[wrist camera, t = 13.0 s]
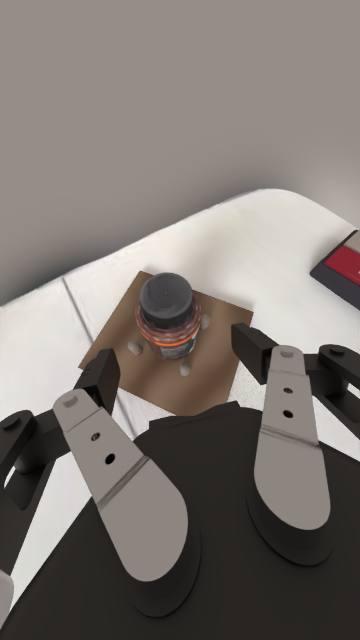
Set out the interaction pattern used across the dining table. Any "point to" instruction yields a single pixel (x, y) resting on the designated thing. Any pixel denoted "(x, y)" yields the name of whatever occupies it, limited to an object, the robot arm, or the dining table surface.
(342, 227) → the dining table surface
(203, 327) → the pin tray
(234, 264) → the dining table surface
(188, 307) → the supplement bottle
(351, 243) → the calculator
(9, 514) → the robot arm
